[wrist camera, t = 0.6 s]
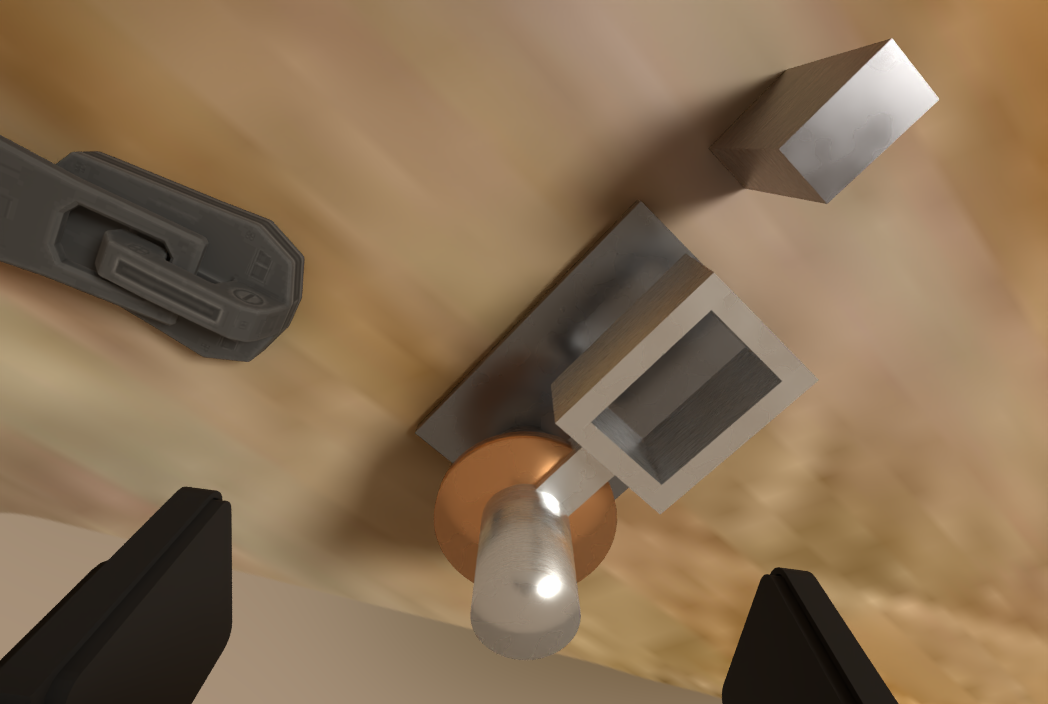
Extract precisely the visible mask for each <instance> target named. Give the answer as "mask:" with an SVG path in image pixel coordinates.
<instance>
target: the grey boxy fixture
mask: <svg viewBox="0 0 1048 704" xmlns="http://www.w3.org/2000/svg"><path fill="white" fill-rule="evenodd" d="M817 381H818V379H817V378H816V377H815V375H814V374H813V373H812V372H811V371H810V370H809V369H808V368H807V367H806V366H805V365H804V364H803V363H802V362H801V361H800V360H799V359H798V358H797V357H796V356H795V355H794V354H793V353H792V352H791V351H790V350H789V349H788V348H787V347H786V346H785V345H784V344H783V343H782V342H781V341H780V340H779V338H778V337H777V336H776V335H775V334H774V333H773V332H772V331H771V330H770V329H769V328H768V327H767V326H766V325H765V324H764V323H763V322H762V321H761V320H760V319H759V318H758V317H757V316H756V315H755V314H754V313H753V312H752V311H751V310H750V309H749V308H748V307H747V306H746V305H745V304H744V303H743V301H742V300H741V299H740V298H739V297H738V296H737V295H736V294H735V293H734V292H733V291H732V290H731V289H730V288H729V287H728V286H727V285H726V284H725V283H724V282H723V281H722V280H721V279H720V278H719V277H718V276H717V275H716V274H715V273H714V272H713V271H711V270H710V269H708V268H707V267H705V266H704V265H703V264H702V263H701V262H700V261H699V260H698V259H697V258H696V257H695V256H694V255H693V254H692V253H691V252H690V251H689V250H688V249H687V248H686V247H685V246H684V245H683V244H682V243H681V242H680V241H679V240H678V239H677V238H676V236H675V235H674V234H673V233H672V232H671V231H670V230H669V229H668V228H667V227H666V226H665V225H664V224H663V223H662V222H661V221H660V220H659V219H658V218H657V217H656V216H655V215H654V214H653V213H652V212H651V211H650V210H649V209H648V208H647V207H646V206H645V205H644V204H643V203H642V202H641V201H640V200H637V201H636V202H635V203H634V204H633V205H632V206H631V207H630V208H629V209H628V210H627V211H626V212H625V213H624V214H623V215H622V217H621V218H620V219H619V220H618V221H617V222H616V223H615V224H614V225H613V226H612V227H611V228H610V229H609V230H608V231H607V232H606V233H605V234H604V235H603V236H602V237H601V238H600V239H599V240H598V241H597V242H596V243H595V244H594V245H593V246H592V247H591V248H590V249H589V250H588V251H587V252H586V253H585V255H584V256H583V257H582V258H581V259H580V260H579V261H578V262H577V263H576V264H575V265H574V266H573V267H572V268H571V269H570V270H569V271H568V272H567V273H566V274H565V275H564V276H563V277H562V278H561V279H560V280H559V281H558V282H557V283H556V284H555V285H554V286H553V287H552V288H551V289H550V290H549V291H548V293H547V294H546V295H545V296H544V297H543V298H542V299H541V300H540V301H539V302H538V303H537V304H536V305H535V306H534V307H533V308H532V309H531V310H530V311H529V312H528V313H527V314H526V315H525V316H524V317H523V318H522V319H521V320H520V321H519V322H518V323H517V324H516V325H515V326H514V327H513V328H512V330H511V331H510V332H509V333H508V334H507V335H506V336H505V337H504V338H503V339H502V340H501V341H500V342H499V343H498V344H497V345H496V346H495V347H494V348H493V349H492V350H491V351H490V352H489V353H488V354H487V355H486V356H485V357H484V358H483V359H482V360H481V361H480V362H479V363H478V364H477V365H476V366H475V368H474V369H473V370H472V371H471V372H470V373H469V374H468V375H467V376H466V377H465V378H464V379H463V380H462V381H461V382H460V383H459V384H458V385H457V386H456V387H455V388H454V389H453V390H452V391H451V392H450V393H449V394H448V395H447V396H446V397H445V398H444V399H443V400H442V401H441V402H440V403H439V404H438V406H437V407H436V408H435V409H434V410H433V411H432V412H431V413H430V414H429V415H428V416H427V417H426V418H425V419H424V420H423V421H422V422H421V423H420V424H419V425H418V426H417V429H416V431H415V433H416V434H417V435H418V436H420V437H421V438H422V439H423V440H424V441H426V442H427V443H428V444H429V445H431V446H432V447H433V448H434V449H436V450H437V451H438V452H439V453H441V454H442V455H443V456H444V457H446V458H447V459H448V460H449V461H451V462H452V463H453V464H452V465H451V466H450V468H449V469H448V471H447V473H446V474H445V476H444V478H443V480H442V482H441V485H440V488H439V492H438V495H437V499H436V503H435V510H434V527H435V533H436V537H437V540H438V543H439V545H440V547H441V549H442V551H443V553H444V555H445V556H446V558H447V559H448V561H449V562H450V563H451V564H452V565H453V567H454V568H455V569H456V570H457V571H458V572H460V573H461V574H462V575H463V576H464V577H466V578H467V579H469V580H470V581H472V582H473V583H474V588H473V596H472V605H471V624H472V627H473V630H474V632H475V634H476V636H477V637H478V638H479V640H480V641H481V642H482V643H483V644H484V645H485V646H486V647H487V648H489V649H490V650H492V651H494V652H495V653H497V654H499V655H501V656H504V657H508V658H512V659H518V660H534V659H540V658H544V657H547V656H550V655H552V654H554V653H556V652H558V651H560V650H561V649H562V648H564V647H565V646H566V645H567V644H568V643H569V642H570V641H571V640H572V639H573V638H574V636H575V634H576V633H577V630H578V628H579V624H580V617H581V614H580V605H579V596H578V588H577V583H578V582H579V581H581V580H582V579H584V578H585V577H586V576H588V575H589V574H590V573H591V572H592V571H593V570H594V569H596V568H597V567H598V565H599V564H600V563H601V562H602V560H603V559H604V558H605V556H606V554H607V553H608V551H609V549H610V547H611V545H612V542H613V540H614V536H615V532H616V525H617V510H616V505H615V499H616V498H617V497H618V496H620V495H621V494H622V493H623V492H624V491H625V490H626V489H628V488H630V489H631V490H633V491H634V492H635V493H636V494H637V495H638V496H640V497H641V498H642V499H643V500H644V501H645V502H646V503H648V504H649V505H650V506H651V507H652V508H653V509H655V510H656V511H657V512H658V513H659V514H661V513H663V512H664V511H665V510H666V509H667V508H669V507H670V506H671V505H672V504H673V503H674V502H676V501H677V500H678V499H679V498H680V497H682V496H683V495H684V494H685V493H686V492H687V491H689V490H690V489H691V488H692V487H693V486H694V485H696V484H697V483H698V482H699V481H700V480H702V479H703V478H704V477H705V476H706V475H707V474H709V473H710V472H711V471H712V470H713V469H715V468H716V467H717V466H718V465H719V464H720V463H722V462H723V461H724V460H725V459H726V458H728V457H729V456H730V455H731V454H732V453H733V452H735V451H736V450H737V449H738V448H739V447H741V446H742V445H743V444H744V443H745V442H746V441H748V440H749V439H750V438H751V437H752V436H754V435H755V434H756V433H757V432H758V431H759V430H761V429H762V428H763V427H764V426H765V425H767V424H768V423H769V422H770V421H771V420H772V419H774V418H775V417H776V416H777V415H778V414H780V413H781V412H782V411H783V410H784V409H785V408H787V407H788V406H789V405H790V404H791V403H793V402H794V401H795V400H796V399H797V398H798V397H800V396H801V395H802V394H803V393H804V392H806V391H807V390H808V389H809V388H810V387H811V386H813V385H814V384H815V383H816V382H817Z"/></svg>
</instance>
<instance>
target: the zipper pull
mask: <svg viewBox="0 0 1048 704" xmlns="http://www.w3.org/2000/svg"><path fill="white" fill-rule="evenodd" d="M0 261H1V262H4V263H7V264H10V265H13V266H16V267H19V268H22V269H25V270H28V271H31V272H34V273H36V274H39V275H42V276H45V277H48V278H50V279H53V280H55V281H58V282H60V283H63V284H65V285H68V286H70V287H73V288H75V289H78V290H80V291H83V292H85V293H88V294H90V295H93V296H96V297H98V298H101V299H103V300H106V301H108V302H111V303H113V304H116V305H118V306H120V307H122V308H124V309H125V310H127V311H129V312H130V313H132V314H134V315H135V316H137V317H139V318H140V319H142V320H144V321H145V322H147V323H149V324H150V325H152V326H154V327H155V328H157V329H159V330H160V331H162V332H163V333H165V334H167V335H168V336H170V337H172V338H173V339H175V340H176V341H178V342H180V343H181V344H183V345H185V346H186V347H188V348H189V349H191V350H193V351H194V352H196V353H197V354H199V355H201V356H203V357H207V358H216V359H226V360H235V361H245V362H249V361H251V360H252V359H254V358H255V357H256V356H257V355H259V354H260V353H261V352H263V351H264V350H265V349H266V348H267V347H268V346H269V345H270V344H271V343H272V342H273V341H274V340H275V339H276V338H277V337H278V336H279V335H280V334H281V333H282V332H283V331H284V330H285V329H287V328H288V327H289V325H290V323H291V321H292V319H293V316H294V314H295V312H296V310H297V307H298V305H299V303H300V301H301V298H302V289H303V273H304V256H303V255H302V253H301V252H300V251H299V250H298V249H297V248H296V247H295V246H294V245H293V243H292V242H291V241H290V240H289V239H288V238H287V237H286V236H285V235H284V233H283V232H282V231H281V230H280V229H279V228H278V227H277V226H276V225H275V224H274V222H273V221H271V220H269V219H267V218H264V217H262V216H259V215H256V214H254V213H251V212H249V211H246V210H243V209H241V208H238V207H236V206H233V205H230V204H228V203H225V202H223V201H220V200H218V199H215V198H213V197H211V196H208V195H206V194H203V193H201V192H198V191H196V190H193V189H191V188H188V187H186V186H184V185H181V184H179V183H176V182H174V181H171V180H169V179H166V178H164V177H162V176H159V175H157V174H154V173H152V172H149V171H147V170H144V169H142V168H140V167H137V166H135V165H132V164H130V163H127V162H125V161H122V160H120V159H118V158H115V157H112V156H109V155H107V154H104V153H102V152H98V151H96V152H72V153H70V154H69V155H67V156H66V157H65V158H63V159H62V160H61V161H59V162H58V163H57V164H53V163H52V162H50V161H48V160H46V159H44V158H42V157H40V156H39V155H37V154H35V153H33V152H31V151H29V150H27V149H26V148H24V147H22V146H20V145H18V144H16V143H14V142H13V141H11V140H9V139H7V138H5V137H3V136H1V135H0Z"/></svg>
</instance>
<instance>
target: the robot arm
mask: <svg viewBox="0 0 1048 704" xmlns="http://www.w3.org/2000/svg"><path fill="white" fill-rule="evenodd" d="M231 628H232V525H231V504H230V502H228V501H222V495H221V493H220V492H218V491H214V490H207V489H200V488H192V487H182V488H181V489H179V490H178V491H177V492H176V493H175V494H174V495H173V496H172V497H171V498H170V499H169V500H168V501H167V502H166V503H165V504H164V505H163V506H162V507H161V508H160V509H159V510H158V511H157V512H156V513H155V514H154V515H153V516H152V517H151V518H150V519H149V520H148V521H147V522H146V523H145V524H144V525H143V526H142V527H141V528H140V529H139V530H138V531H137V532H136V533H135V534H134V535H133V536H132V537H131V538H130V539H129V540H128V541H127V542H126V543H125V544H124V545H123V546H122V547H121V548H120V549H119V550H118V551H117V552H116V553H115V554H114V555H113V556H112V557H111V558H110V559H109V560H107V561H105V562H102V563H100V564H99V565H97V567H95V568H94V569H92V570H91V571H90V572H89V573H88V574H87V575H86V576H85V577H84V578H83V579H82V580H81V581H80V582H79V583H78V584H77V585H76V586H75V587H74V588H73V589H72V590H71V591H70V592H69V593H68V594H67V595H66V596H65V597H64V598H63V599H62V600H61V601H60V602H59V603H58V604H57V605H56V606H55V607H54V608H53V609H52V610H51V611H50V612H49V613H48V614H47V615H46V616H45V617H44V618H43V619H42V620H41V621H40V622H39V623H38V624H37V625H36V626H35V627H34V628H33V629H32V630H31V631H30V632H29V633H28V634H27V635H25V637H23V638H22V639H21V640H20V641H19V642H18V643H17V644H16V645H15V646H14V647H13V648H12V649H11V650H10V651H9V652H8V653H7V654H6V655H5V656H4V657H3V658H2V659H1V660H0V704H192V702H193V700H194V699H195V697H196V695H197V694H198V692H199V690H200V689H201V687H202V685H203V684H204V682H205V680H206V679H207V677H208V675H209V674H210V672H211V670H212V668H213V667H214V665H215V664H216V662H217V660H218V658H219V657H220V655H221V654H222V652H223V650H224V648H225V646H226V644H227V642H228V639H229V637H230V633H231ZM722 703H723V704H898V702H897V701H896V699H895V698H894V696H893V695H892V693H891V692H890V690H889V689H888V687H887V686H886V684H885V683H884V681H883V680H882V678H881V677H880V675H879V674H878V672H877V670H876V669H875V667H874V666H873V664H872V663H871V661H870V660H869V658H868V657H867V655H866V654H865V652H864V651H863V649H862V648H861V646H860V645H859V643H858V642H857V640H856V639H855V637H854V635H853V634H852V632H851V631H850V629H849V628H848V626H847V625H846V623H845V622H844V620H843V619H842V617H841V616H840V614H839V613H838V611H837V610H836V608H835V607H834V605H833V604H832V602H831V600H830V599H829V597H828V596H827V594H826V593H825V591H824V590H823V588H822V587H821V585H820V584H819V582H818V581H817V579H816V578H815V576H814V575H813V574H812V573H810V572H808V571H802V570H794V569H787V568H780V567H778V568H775V569H774V570H773V571H772V572H771V574H770V575H768V574H766V575H764V576H763V577H762V578H761V580H760V583H759V586H758V589H757V592H756V594H755V597H754V600H753V603H752V606H751V608H750V611H749V614H748V617H747V620H746V623H745V625H744V628H743V631H742V634H741V637H740V640H739V642H738V645H737V648H736V651H735V654H734V656H733V659H732V662H731V665H730V668H729V671H728V673H727V676H726V679H725V682H724V685H723V689H722Z"/></svg>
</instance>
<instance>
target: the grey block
mask: <svg viewBox="0 0 1048 704" xmlns="http://www.w3.org/2000/svg"><path fill="white" fill-rule="evenodd" d="M938 100H939V98H938V97H937V96H936V94H935V93H934V92H933V90H932V89H931V88H930V87H929V85H928V84H927V83H926V81H925V80H924V79H923V78H922V76H921V75H920V74H919V72H918V71H917V70H916V69H915V67H914V66H913V65H912V63H911V62H910V61H909V60H908V58H907V57H906V56H905V54H904V53H903V52H902V51H901V49H900V48H899V47H898V45H897V44H896V43H895V42H894V40H893V39H888V40H885V41H881V42H878V43H875V44H871V45H868V46H865V47H861V48H858V49H855V50H851V51H848V52H844V53H841V54H838V55H834V56H831V57H828V58H824V59H821V60H817V61H814V62H811V63H807V64H804V65H801V66H797V67H794V68H790V69H787V70H785V71H784V73H783V74H782V75H781V76H780V77H779V78H778V79H777V80H776V81H775V82H774V83H773V84H772V85H771V86H770V87H769V88H768V89H767V90H766V91H765V92H764V93H763V94H762V95H761V96H760V97H759V98H758V99H757V100H756V101H755V102H754V103H753V104H752V105H751V106H750V107H749V108H748V109H747V110H746V111H745V112H744V113H743V114H742V115H741V116H740V117H739V118H738V119H737V120H736V121H735V122H734V123H733V124H732V125H731V126H730V127H729V128H728V129H727V130H726V131H725V132H724V133H723V134H722V136H721V137H720V138H719V139H718V140H717V141H716V142H715V143H714V144H713V145H712V146H711V147H710V148H709V150H710V151H711V152H712V153H713V154H714V155H715V156H716V157H717V158H718V159H719V160H720V162H721V163H722V164H723V165H724V166H725V167H726V168H727V169H728V170H729V171H730V173H731V174H732V175H733V176H734V177H735V178H736V179H737V180H738V181H739V182H740V183H741V185H742V186H743V187H744V188H745V189H751V190H756V191H761V192H767V193H772V194H777V195H783V196H788V197H793V198H799V199H804V200H809V201H815V202H820V203H825V204H827V203H829V202H830V201H831V200H832V199H833V198H834V197H835V196H836V195H837V194H838V193H839V192H840V191H841V190H842V189H844V188H845V187H846V186H847V185H848V184H849V183H850V182H851V181H852V180H853V179H854V178H855V177H856V176H858V175H859V174H860V173H861V172H862V171H863V170H864V169H865V168H866V167H867V166H868V165H869V164H870V163H872V162H873V161H874V160H875V159H876V158H877V157H878V156H879V155H880V154H881V153H882V152H883V151H884V150H885V149H887V148H888V147H889V146H890V145H891V144H892V143H893V142H894V141H895V140H896V139H897V138H898V137H899V136H901V135H902V134H903V133H904V132H905V131H906V130H907V129H908V128H909V127H910V126H911V125H912V124H913V123H915V122H916V121H917V120H918V119H919V118H920V117H921V116H922V115H923V114H924V113H925V112H926V111H927V110H928V109H930V108H931V107H932V106H933V105H934V104H935V103H936V102H937V101H938Z"/></svg>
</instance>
